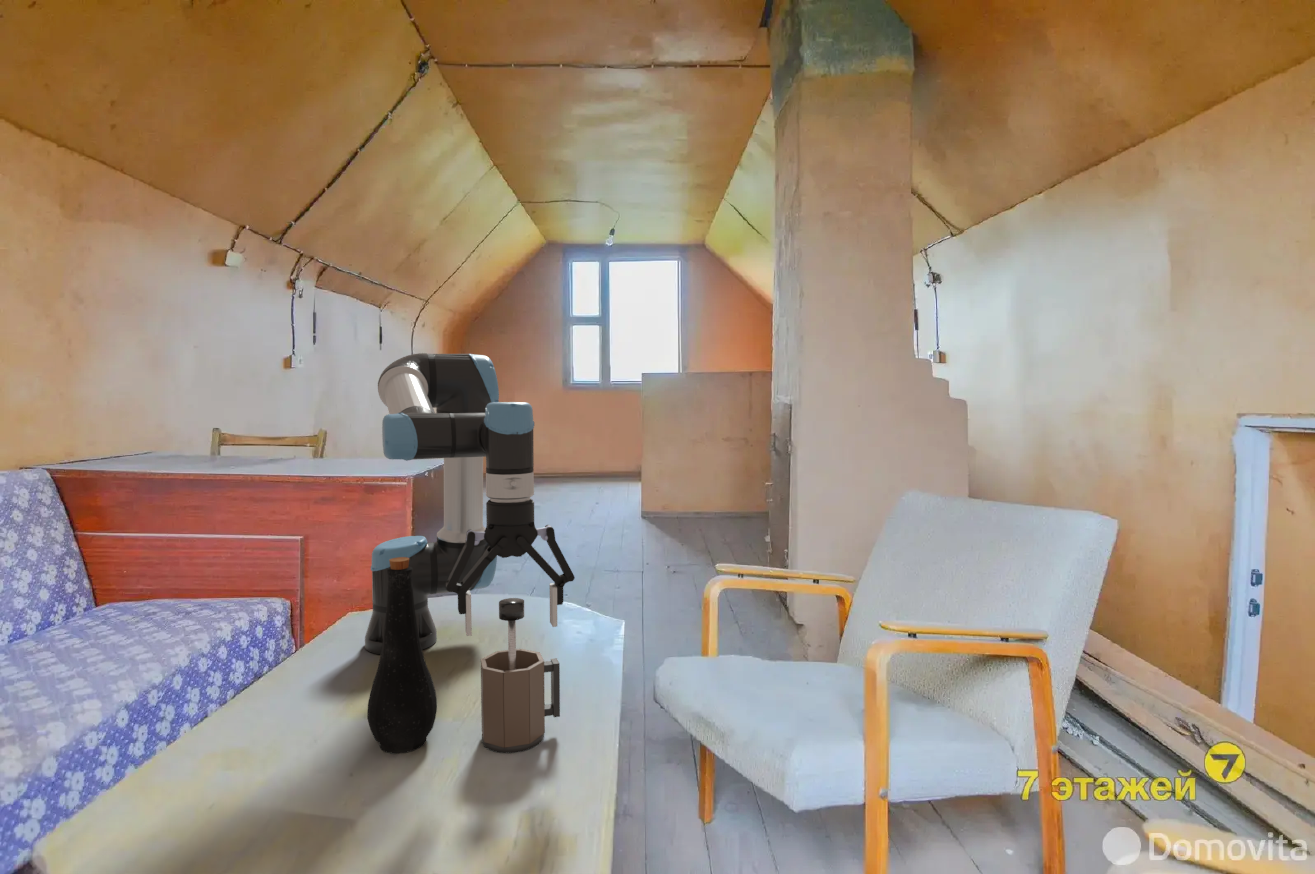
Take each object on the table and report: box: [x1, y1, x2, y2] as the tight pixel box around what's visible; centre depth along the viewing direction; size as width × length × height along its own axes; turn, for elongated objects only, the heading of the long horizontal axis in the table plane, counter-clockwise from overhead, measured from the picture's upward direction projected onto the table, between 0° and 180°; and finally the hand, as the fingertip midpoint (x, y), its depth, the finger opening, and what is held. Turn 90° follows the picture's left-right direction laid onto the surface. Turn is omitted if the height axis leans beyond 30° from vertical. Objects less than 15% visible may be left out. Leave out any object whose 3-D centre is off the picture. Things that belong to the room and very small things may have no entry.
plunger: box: [498, 597, 525, 670], centre depth 118 cm, size 7×7×21 cm
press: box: [480, 648, 561, 754], centre depth 118 cm, size 10×12×13 cm
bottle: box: [367, 557, 438, 755], centre depth 116 cm, size 11×11×30 cm
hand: (511, 628), depth 117 cm, fingers open, 13 cm apart
